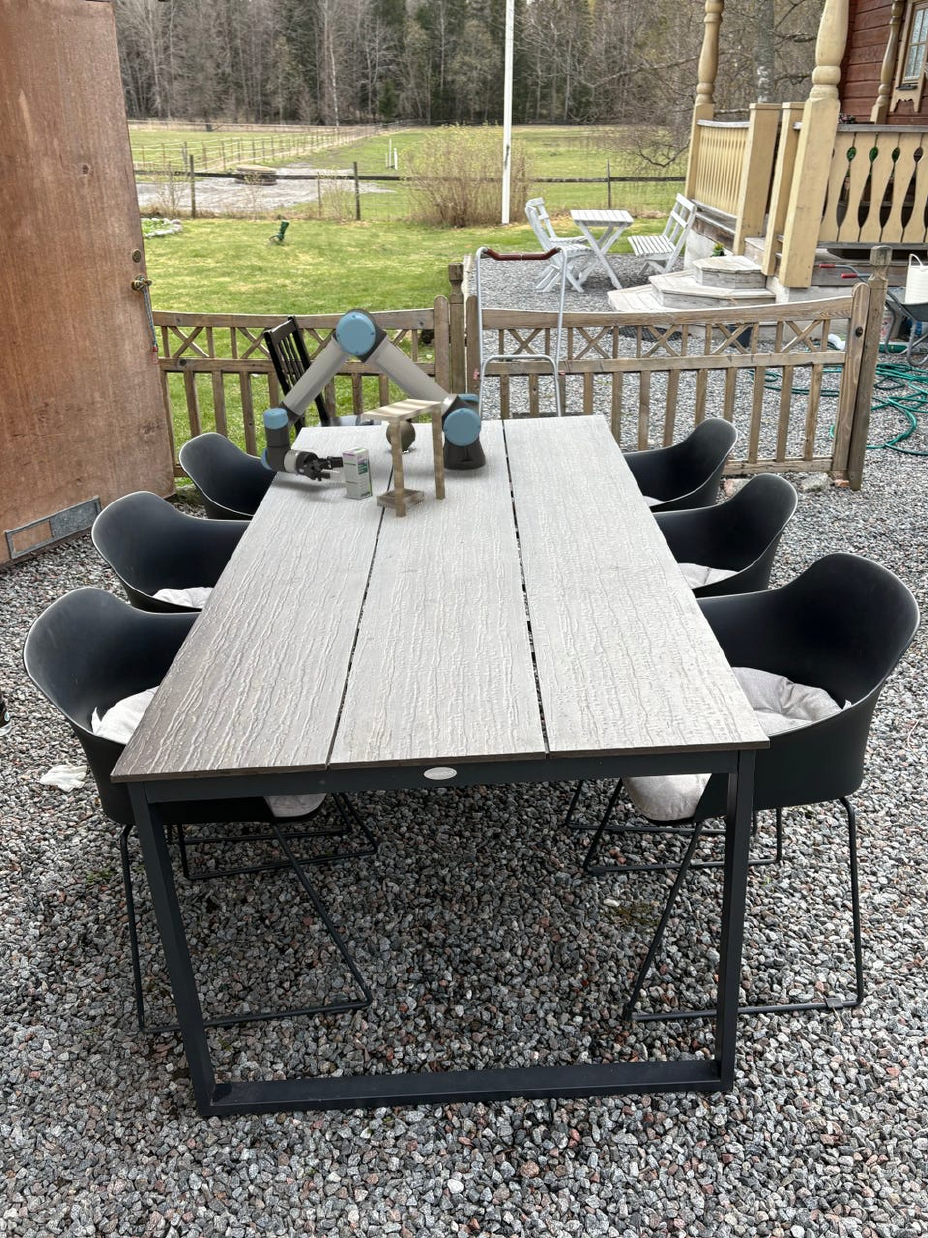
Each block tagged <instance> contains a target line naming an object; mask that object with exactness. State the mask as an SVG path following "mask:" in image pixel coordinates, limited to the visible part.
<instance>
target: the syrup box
mask: <svg viewBox="0 0 928 1238" xmlns="http://www.w3.org/2000/svg"><path fill="white" fill-rule="evenodd" d="M369 452H370V451H369V449H368V448H365V447H360V446H359V447H358V446H354V447H353V448H348V449H346V450H342V452H341V454H342V456H341V457H343V465H344V467H343V473H344V481H345V490H346V491H345V493H346V497H347V498H349V499H353V500H358V501H361V500H363V499H365V498H368V497H371V496H373V494H374V493H373V484H372V483H373V482H372V472H371V463H370V453H369Z"/></svg>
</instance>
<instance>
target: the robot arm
mask: <svg viewBox="0 0 928 1238" xmlns="http://www.w3.org/2000/svg"><path fill="white" fill-rule="evenodd" d="M351 357H355V358H356V359H357V360H359V361H360V362H361V363H362V364H363V365H372V366H373V367H374V368H375V369H377V370H378V371H379V372H380V373H381V374H382V375H384V376H385V378H387V379H388V380H390V381H391V382H392V383H393V384H394V385H395V386H397V387H398V388H399V389H400V390H401V391H402V392H403V393H405V394H406V395H407V396H408V397H409V399H415V400H425V401H435V402H442V408H441V422H442V433H443V436H444V438H443V439H444V440H443V441H444V442H443V462H444V469H448V470H449V469H450V470H471V469H477V468H480V467H483V466H484V465H486V462H487V459H486V455H485V452H484V449H483V446H482V443H481V439H480V434H481V431H482V424H483V422H482V419H481V417H480V411H479V404H480V401H479V396H478V394H475V393H449V392H447V391H446V390H445V389H444V388H443V387H442V386H440V385H439V384H438V383H437V382H436V381H435V380H434V379H432V378H431V377H430V376H429V375H428V374H427V373H426V372H424V371H423V370H422V369H421V368H420V367H419V366H418V365H416V364H415V363H414V361H412V360H411V359H410V358H409V357H408V356H406V355H405V354H404V353H402V351H401V350H399V349H398V348H397V347H396V346H395V345H394V344H392V343H391V342H390V336H389V333H388V332H386V330H385V329H384V328H382V327H381V326H380V325H379V324H377V322H376V319H375V317H374V316H373V314H371V312H369V311H368V310H366V309H363V308H353V309H350V310H348V311H347V312H345V313H344V315H343V316H342V317H341V318H340V319H339V321H338V323H337V325H336V329H335V330H334V332H333V333H332V334H331V340H330V342H329V343H328V344H327V345H326V346H325V348H324V349H323V350H322V351H321V353H320V354H319V355H318V356H317V358H315V360H314V361H313V363H311V365H310V366H309V368H308V369H306V371H305V372H304V373H303V374H302V376H301V377H300V378H299V380H298V381H296V383H295V384H294V385H293V386H292V388H291V389H290V391H288V392H287V394H286V395H285V396H284V398H283V399H282V401H280V403H279V404H278V405H277V406H276V407H275V408H269V409H266V410H264V411H263V413H262V423H263V429H264V435H265V441H266V442H265V443H266V447H264V448H263V449H262V451H261V455H260V462H261V464H262V466H263V467H264V468H265V469H266V470H270V471H273V472H280V473H286V474H292V475H295V476H297V477H298V476H304V477H306V478H307V479H310V480H311V481H316V480H317V482H322V480H327V481H334V482H341V481H342V480H341V472H340V471H338V470H337V471H336V470H334V469H337V468H339V469H341V468H344V465H343V456H329V455H328V456H326V458H324V457H319V456H318V455H317V453H315V452H314V451H313V452H312V451H306V450H300V449H292V446H291V438H290V435H291V434H290V431H291V428H292V427H293V426H294V425H295V424H296V422H297V421H298V420H299V419H300V417H301V416H302V415H303V414H304V412H306V410H307V409H308V407H310V405H311V404H312V403H313V402H314V400H315V399H316V398H317V397H318V396H319V395H320V393H321V392H322V391H323V390H324V389H325V387H326V386H327V385H328V384H329V383H330V382H331V380H332V379H334V377H335V375H336V374H337V373H338V372H339V371H340V369H341V368H342V367H343V366H344V365H345V363H347V361H348V360H349V358H351ZM427 413H428V414H429V415H430V417H431V411H430V412H427ZM431 420H432V417H431Z"/></svg>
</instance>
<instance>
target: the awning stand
mask: <svg viewBox="0 0 928 1238" xmlns="http://www.w3.org/2000/svg"><path fill="white" fill-rule="evenodd" d="M441 408H442V402H435V401H425V400H415V399H412V398H407V399H404V400H400V401H397V402H394V403H392V404H391V403H390V404H388V405H385V406H382V407H381V406H380V407H378V408H377V407H376V408H375V409H373V410H372V409H370V410H368V411H364V412H361V414H362V419H364V420H372V421H381V422H388V423H389V422H390V423H389V424H390V434H391V444H390V447H391V452H392V454H391V458H392V460H391V461H392V462H391V463H392V472H393V473H392V475H393V487H394V488H393V489H389V490H388V491H387V490H386V491H385V492H383V493H380V494H377V495H376V506H377V505H378V506H377V507H382V506H383V507H384V508H387V507H388V508H389V509H394V508H395V509H394V510H395V513H396V514H395V516H396V518H397V517H399V518H404V517H406V516H407V510H408V508H409V509H410V507H411V508H413V507H415V506H417V504H418V505H420V504H422V503H425V502H426V501H425V500H426V498H425V491H424V490H418V489H417V490H416V489H413V488H412V489H411V488H405V476H404V464H403V461H404V460H403V453H402V444H401V429H400V421H406V420H407V419H411V418H415V417H417V416H421V415H424V414H426V413H428V412H430V411H431V415H430V417H432V419H431V432H432V433H431V434H432V450H433V467H434V470H433V471H434V485H435V487H434V488H435V499H436V500H441V501H442V500H444V499H446V485H445V484H446V483H445V468H444V462H443V446H444V442H443V432H442V422H441ZM421 502H422V503H421ZM419 503H420V504H419ZM414 505H415V506H414ZM412 506H413V507H412Z"/></svg>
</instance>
